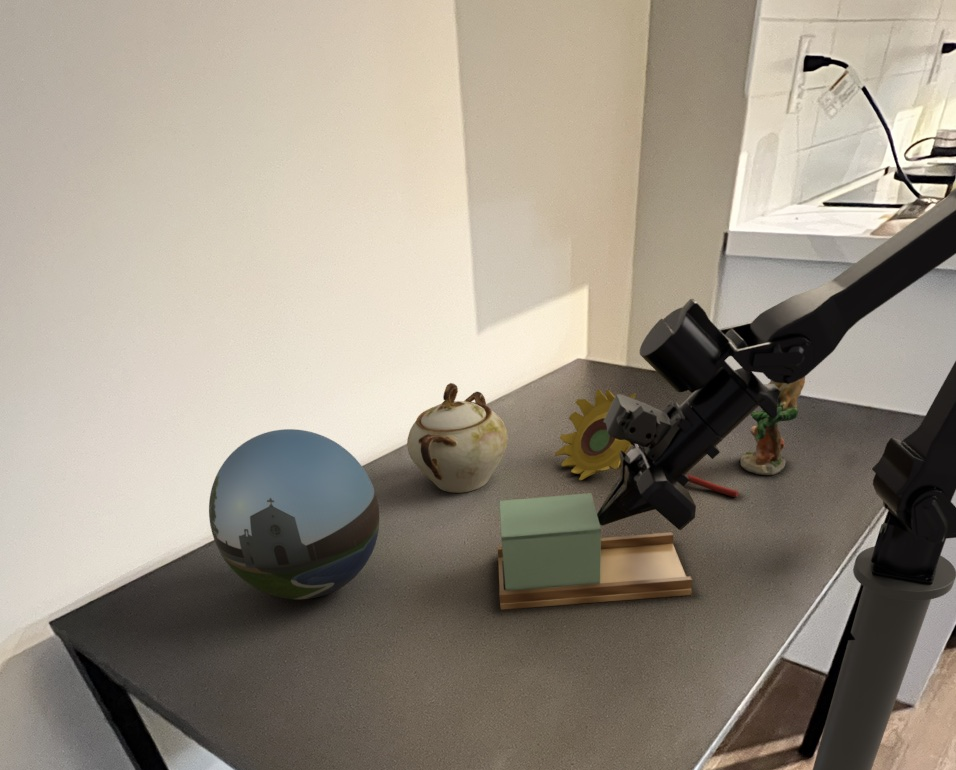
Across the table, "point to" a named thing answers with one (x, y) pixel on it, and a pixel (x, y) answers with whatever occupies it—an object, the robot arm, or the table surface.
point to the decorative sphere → (294, 514)
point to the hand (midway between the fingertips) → (598, 521)
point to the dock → (614, 575)
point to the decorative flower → (603, 443)
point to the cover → (550, 542)
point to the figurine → (772, 432)
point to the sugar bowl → (458, 442)
